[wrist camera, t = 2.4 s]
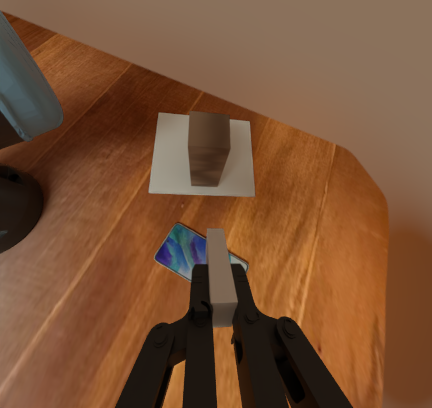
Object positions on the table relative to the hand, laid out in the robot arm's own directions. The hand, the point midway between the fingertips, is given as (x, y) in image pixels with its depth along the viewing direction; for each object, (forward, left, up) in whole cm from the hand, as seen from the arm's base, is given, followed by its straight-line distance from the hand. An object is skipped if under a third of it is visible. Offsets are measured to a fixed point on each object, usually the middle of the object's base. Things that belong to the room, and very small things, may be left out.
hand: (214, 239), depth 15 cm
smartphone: (-1, -3, -14) cm, 14 cm away
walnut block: (-1, +13, -12) cm, 18 cm away
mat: (-1, +18, -13) cm, 22 cm away
